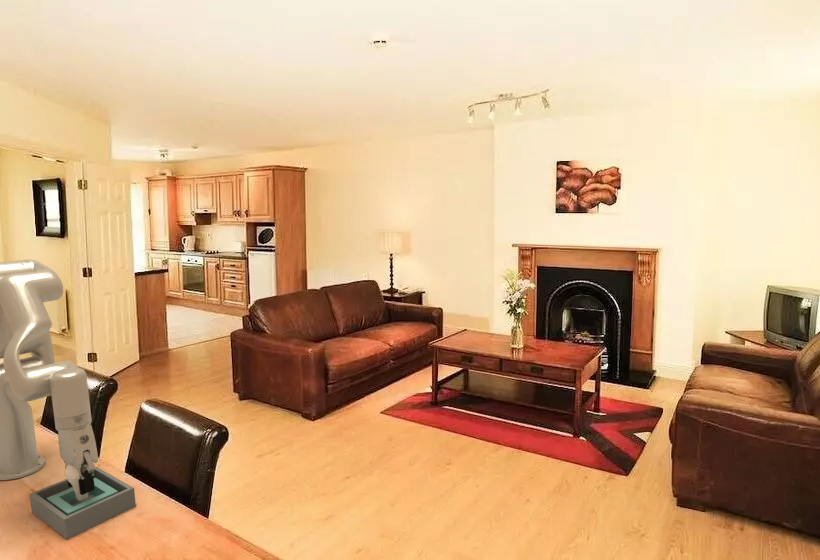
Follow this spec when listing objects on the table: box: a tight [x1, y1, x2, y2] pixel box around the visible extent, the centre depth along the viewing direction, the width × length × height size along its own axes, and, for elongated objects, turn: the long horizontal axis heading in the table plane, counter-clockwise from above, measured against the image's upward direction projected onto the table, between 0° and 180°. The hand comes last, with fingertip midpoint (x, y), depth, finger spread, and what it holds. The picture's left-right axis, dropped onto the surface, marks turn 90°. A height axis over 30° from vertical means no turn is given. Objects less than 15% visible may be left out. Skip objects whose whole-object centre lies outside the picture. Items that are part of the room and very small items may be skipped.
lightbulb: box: [64, 462, 88, 501], centre depth 134 cm, size 6×6×11 cm
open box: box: [28, 466, 137, 540], centre depth 135 cm, size 19×16×5 cm
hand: (81, 487), depth 135 cm, fingers closed on lightbulb, 5 cm apart
